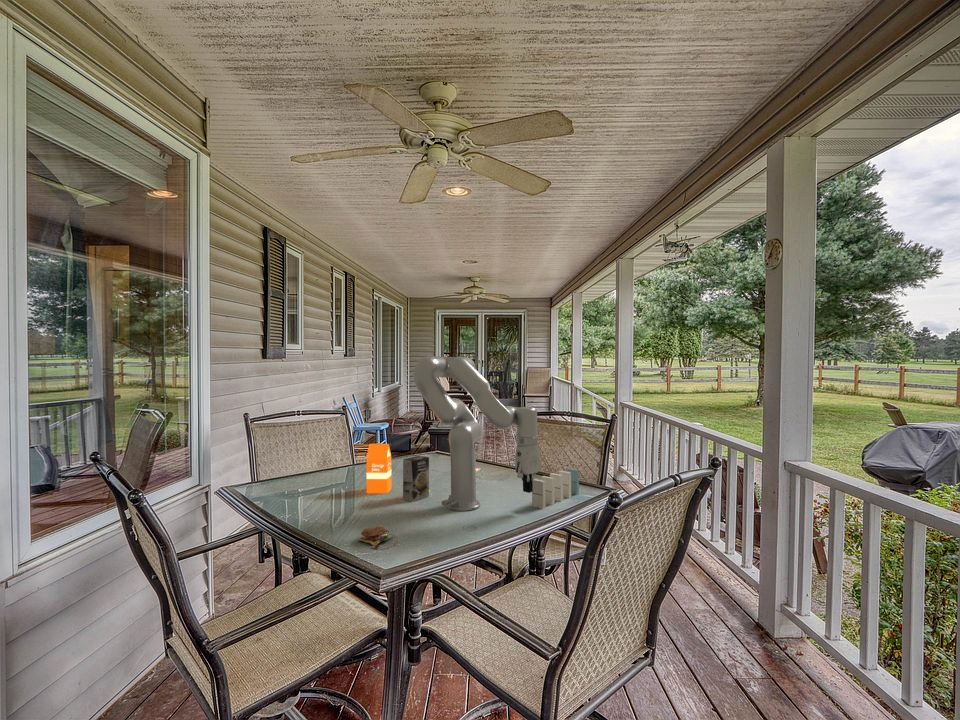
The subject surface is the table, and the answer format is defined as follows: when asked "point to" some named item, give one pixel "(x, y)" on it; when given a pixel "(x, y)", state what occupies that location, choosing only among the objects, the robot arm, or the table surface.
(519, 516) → the table surface
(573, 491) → the domino
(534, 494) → the domino
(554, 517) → the table surface
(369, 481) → the orange juice
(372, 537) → the hamburger
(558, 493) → the domino
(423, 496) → the coffee box
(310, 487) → the table surface
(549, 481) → the domino
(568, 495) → the domino
